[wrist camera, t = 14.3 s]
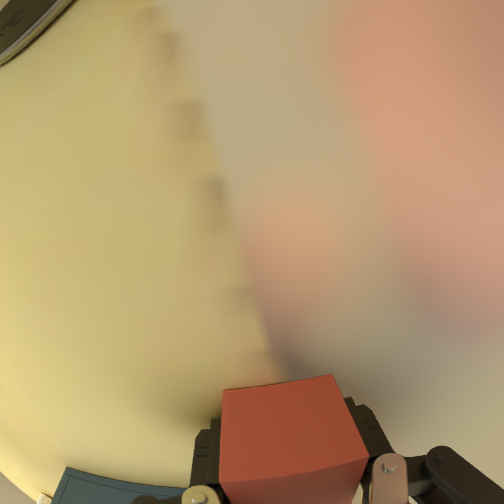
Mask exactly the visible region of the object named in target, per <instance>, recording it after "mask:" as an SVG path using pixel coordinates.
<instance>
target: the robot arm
mask: <svg viewBox="0 0 504 504" xmlns="http://www.w3.org/2000/svg"><path fill="white" fill-rule="evenodd" d="M71 2H72V0H0V65H1V64H3V63H5V62H6V61H8V60H9V59H11V58H12V57H13V56H15V55H16V54H17V53H18V52H20V51H21V50H22V49H23V48H24V47H26V46H27V45H28V44H29V43H30V42H31V41H32V40H33V39H34V38H36V37H37V36H38V35H39V34H40V33H41V32H42V31H43V30H44V29H45V28H46V27H47V26H48V25H49V24H50V23H51V22H52V21H53V20H54V19H55V18H56V17H57V16H58V15H59V14H60V13H61V12H62V11H63V10H64V9H65V8H66V7H67V6H68V5H69V4H70V3H71ZM343 399H344V401H345V403H346V405H347V407H348V409H349V412H350V414H351V416H352V418H353V420H354V422H355V425H356V427H357V429H358V431H359V433H360V436H361V438H362V440H363V442H364V445H365V447H366V449H367V451H368V453H369V458H368V461H367V464H366V467H365V470H364V473H363V475H362V478H361V481H360V483H361V486H362V489H363V490H362V493H361V504H410V503H409V500H408V496H411V497H412V498H413V499H414V500H415V501H416V502H417V503H418V504H504V489H502V488H501V487H499V486H498V485H497V484H496V483H494V482H493V481H492V480H490V479H489V478H488V477H487V476H485V475H484V474H483V473H481V472H480V471H479V470H478V469H476V468H475V467H474V466H472V465H471V464H470V463H469V462H467V461H466V460H465V459H464V458H462V457H461V456H460V455H458V454H457V453H456V452H454V450H452V449H451V448H449V447H447V446H437V447H434V448H432V449H431V450H430V451H429V452H428V453H427V455H422V456H415V457H403V456H401V455H399V454H397V453H395V452H394V451H393V449H392V447H391V445H390V443H389V441H388V440H387V438H386V436H385V434H384V432H383V430H382V428H381V427H380V425H379V423H378V421H377V420H376V417H375V416H374V414H373V412H372V410H370V409H369V408H368V407H367V406H365V405H364V404H362V405H359V406H356V405H355V403H354V401H353V399H352V397H347V398H343ZM220 440H221V418H212V419H211V427H210V429H202V430H201V431H200V432H199V434H198V435H197V437H196V439H195V447H194V448H195V449H194V457H193V463H192V471H191V479H190V485H189V487H188V489H187V490H186V491H185V492H184V493H182V494H181V495H179V496H176V497H171V498H165V499H157V498H156V497H154V496H151V495H141V496H138V497H136V498H134V499H133V500H132V502H131V503H130V504H231V502H230V500H229V498H228V497H227V495H226V493H225V491H224V490H223V488H222V486H221V484H220V482H219V465H220Z"/></svg>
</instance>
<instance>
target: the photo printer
mask: <svg viewBox="0 0 504 504" xmlns="http://www.w3.org/2000/svg"><path fill="white" fill-rule="evenodd" d="M51 501H52V499H51V498H49V497H47V496H46V495H44V494H40V496H39V499H38V501H37V503H36V504H51Z"/></svg>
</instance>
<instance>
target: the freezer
mask: <svg viewBox="0 0 504 504" xmlns="http://www.w3.org/2000/svg"><path fill="white" fill-rule="evenodd" d="M186 490H187V488H171V487H160V486H151V485H143V484H136V483H130V482H124V481H119V480H114V479H109V478H105V477H100V476H96V475H92V474H88V473H85V472H81V471H77V470H74V469H71V468H68V467H66V469H65V471H64V474H63V476H62V478H61V480H60V483H59V485H58V487H57V489H56V492H55V494H54V496H53V499H52V501H51V504H130V503H131V502H132V500H133V499H134V498H136V497H138V496H141V495H151V496H154V497H156V498H157V499H165V498H171V497H176V496H179V495H181V494H182V493H184V492H185V491H186Z"/></svg>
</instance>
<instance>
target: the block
mask: <svg viewBox="0 0 504 504" xmlns="http://www.w3.org/2000/svg"><path fill="white" fill-rule="evenodd" d="M368 458H369V453H368V451H367V449H366V447H365V445H364V442H363V440H362V438H361V436H360V433H359V431H358V429H357V427H356V425H355V422H354V420H353V418H352V416H351V414H350V412H349V409H348V407H347V405H346V403H345V401H344V399H343V396H342V394H341V392H340V390H339V388H338V386H337V384H336V381H335V379H334V377H333V375H332V374H328V375H323V376H319V377H314V378H309V379H303V380H298V381H292V382H287V383H280V384H274V385H267V386H260V387H252V388H243V389H234V390H224V391H223V398H222V418H221V440H220V465H219V482H220V484H221V486H222V488H223V490H224V491H225V493H226V495H227V497H228V498H229V500H230V502H231V504H351V502H352V500H353V497H354V495H355V493H356V491H357V488H358V486H359V483H360V481H361V478H362V475H363V473H364V470H365V467H366V464H367V461H368Z"/></svg>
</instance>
